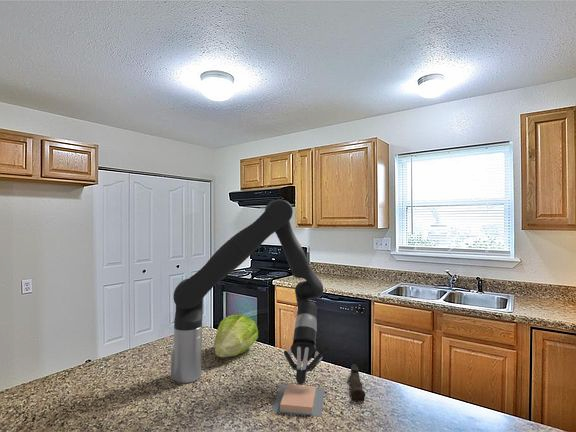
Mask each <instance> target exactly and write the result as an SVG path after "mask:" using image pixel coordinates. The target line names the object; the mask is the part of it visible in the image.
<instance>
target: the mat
mask: <svg viewBox="0 0 576 432" xmlns="http://www.w3.org/2000/svg"><path fill="white" fill-rule="evenodd" d="M286 387H287V384H283V383H282V384H281V385H280V388H279V390H278V392H277V395H276V398H275V400H274V403H273V406H272V408H271V411H270V412H272V413H274V412H275V413H285V414H290V413H289V412H280V403H281V400H282V398H283V395H284V392H285V389H286ZM315 387H316V396H315V402H314V408H313V414H312V415H309V414H299V413H291V414H294V415H303V416H304V415H305V416H313V417H322V414H323V406H324V398H325V390H326V388H325V387H317V386H315Z"/></svg>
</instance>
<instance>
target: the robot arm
mask: <svg viewBox="0 0 576 432" xmlns="http://www.w3.org/2000/svg"><path fill="white" fill-rule="evenodd" d="M293 210H294V209H293V206H292V204H291V203H290V202H289V201H287V200H284V199H273V200H270V201H269V202H268V203H267V204H266V205H265V208H264V211H263V213H262V214H261V215H260V216H259V217H258V218H257V219H256V220H254V221H253V222H252V223H251V224H250V225H247V226H246V227H245V228H243V229H242V230H240V231H238V232H236V234H234V235H233V236H231V237H230V238H229V239H228V240H227V241H226V242H224V243H223V245H221V246H220V247H219V248H218V249H217V250H216V251H215V252H214V254H213V255H212V256H211V257H210V258H209V259H208V261H206V263H205V264H204V265H203V266H202V267H201V268H200V269H199V270H198V271H196V272H195V273H194V274H193V275H191V276H190V277H189V278H186V279H182V280H181V281H180V282H179V283H178V284H177V286H176V287H175V289H174V292H173V295H172V296H173V301H174V304H175V313H174V322H173V328H174V330H173V349H172V350H171V353H170V355H171V356H170V380H171V381H174V382H176V383H180V384H185V383H194V382H195V381H197V380H200V378H201V377H202V364H203V363H202V361H203V359H202V358H203V357H202V356H203V355H202V351H203V350H202V349H203V335H202V334H203V313H204V312H203V311H204V310H203V309H204V307H203V306H204V298H205V296H206V295H207V294H208V293H209V292H210V291H211V290H212V289H213V288H214V287H215V286H216V285H217V284H218V283H220V282H221V281H222V280H223V279H225V278H226V277H228V275H230V274H231V273H232V272H234V270H236V269H237V268H238V267H240V266H241V264H243V263H244V262H245V261H246V260H247V259H248V258H249V257H250V256H252V254H253V253H254V252H255V251H256V250H257V249H258V248H259V247H260V246H261V245H262V244H263V243H264V242H265V241H266V240H267V239H268V238H269V237H271V236H272V235H273V234H274V233H275V234H276V236H277V238H278V241H279V243H280V245H281V247H282V250H283V252H284V256H285V258H286V260H287V263H288V265H289V268H290V271H291V273H292V275H293V277H294V278H296V279H304V280H303V281H299V282H298V283H297V284H296V286H295V287H294V293H295V298H296V304H297V307H296V308H297V310H296V317H295V323H294V329H293V338H292V344H291V346H290V349H288V350H284V351H283V356H284V358H285V360H286V361H287V363H288V364H289V366H290V368H291V369H292V370H293V371H296V375H295V380H296V383H297V385H303V386H304V384H306V379H307V373H308V372H312V371H314V370H315V368H316V367H317V366H318V365H319V364H320V363H321V361H322V360H323V354H322V353H321V352H320V353H319V351H318V350H317V347H316V343H317V341H316V340H317V331H318V329H317V328H318V327H317V326H318V322H317V318H318V317H317V316H318V306H317V304H316V303H315V302H314V301H312V300H314V299H315V300H316V299H319V298H321V297H322V296H323V294H324V286H323V283H322V281H321V280H320V278H319V277H318V276H317V275H316V273H315V272H314V271H313V269H312V268H311V266H310V263H309V261H308V258H307V255H306V253H305V251H304V249H303V247H302V245H301V243H300V242H299V240H298V239H297V237H296V234H295V233H294V231H293V228H292V225H291V219H292V217H293V213H294V211H293ZM293 357H294V358H295V360H296V363H295V361H294V360H293ZM310 361H311V362H310ZM309 362H310V363H309Z"/></svg>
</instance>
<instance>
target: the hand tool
mask: <svg viewBox="0 0 576 432" xmlns="http://www.w3.org/2000/svg"><path fill="white" fill-rule="evenodd" d="M359 373H360V371H359V367H358V365H357V364H356V363H353V364H351V366H350V381H351V398H350V399H351V401H357V402H364V401H365V397H366V392H365V391H364V390H363V383H362V381H361V377H360V374H359Z"/></svg>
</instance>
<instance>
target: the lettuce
mask: <svg viewBox="0 0 576 432" xmlns="http://www.w3.org/2000/svg"><path fill="white" fill-rule="evenodd" d="M258 339H259V329H258V326H257V323H256V321H255V320H253V319H252V318H251V317H249V316H247V315H245V314H242V313H240V314H232V315H228V316H226V317H224V318H223V319H222V320H221V321H220V322H219V325H218V327H217V331H216V334H215V337H214V342H213V346H214V350H215V351H214V352H215V355H216V356H217V357H220V358H230V357H231V358H232V357H235V356H237V355H240V354H243V353H245V352H246V351H247V350H248V349H249V348H251V347H252V345H254V344H255V342H256V341H257V340H258Z"/></svg>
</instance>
